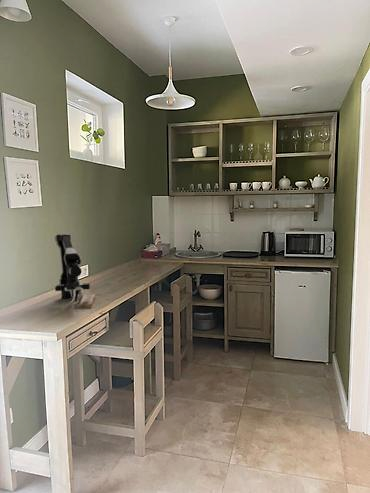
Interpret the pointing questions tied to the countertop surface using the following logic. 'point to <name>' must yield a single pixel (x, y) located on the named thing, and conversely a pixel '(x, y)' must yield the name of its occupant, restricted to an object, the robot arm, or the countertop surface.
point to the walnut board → (87, 301)
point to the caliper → (74, 300)
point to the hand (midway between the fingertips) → (73, 302)
